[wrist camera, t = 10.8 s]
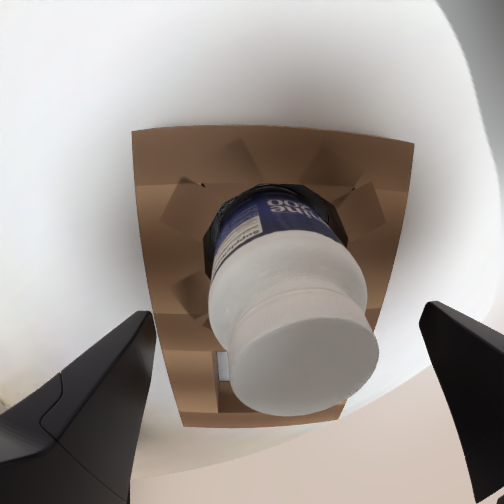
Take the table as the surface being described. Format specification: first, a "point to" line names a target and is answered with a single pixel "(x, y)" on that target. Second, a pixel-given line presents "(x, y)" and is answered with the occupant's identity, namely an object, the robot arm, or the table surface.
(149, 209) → the socket block
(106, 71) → the table surface
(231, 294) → the pill bottle
